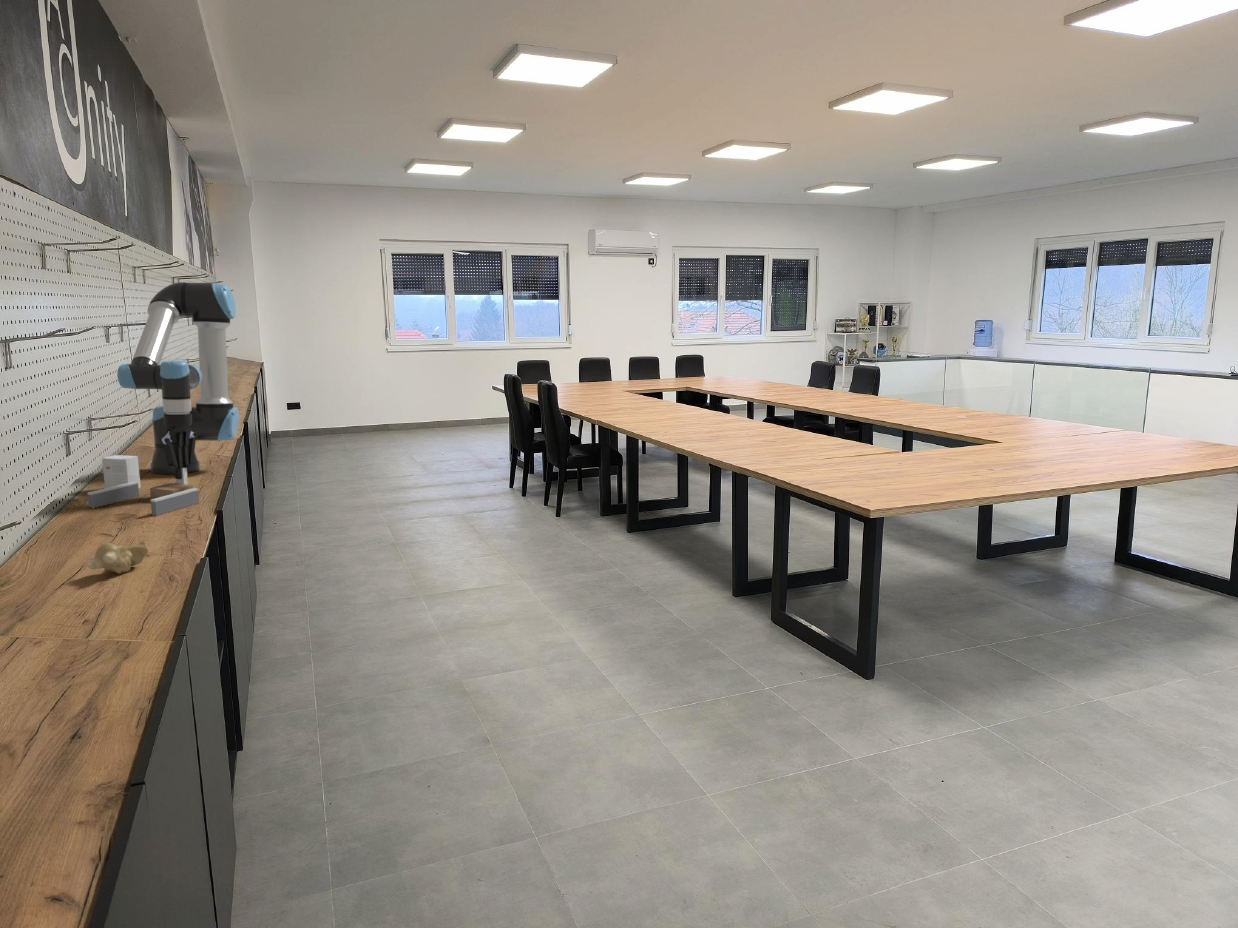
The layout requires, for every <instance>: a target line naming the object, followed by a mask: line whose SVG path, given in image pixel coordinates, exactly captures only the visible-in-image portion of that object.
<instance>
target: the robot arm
mask: <svg viewBox="0 0 1238 928" xmlns="http://www.w3.org/2000/svg"><path fill="white" fill-rule="evenodd" d="M236 313H237V311H236V302H235V298H234V295H233V292H232V290H231V289H230V287H229V286H228V285H226V284H221V283H216V282H215V283H214V282H212V283H207V282H205V283H203V282H201V283H200V282H185V281H181V282H174V283H172V284H169V285H167V286H165V287H164V288H162V289H160V291H158V292H157V293H156V294H155V295H154V296H153V298H152V299H151V300H150V302H149V303H148V306H147V315H148V317H147V320H146V323H145V325H144V328H143V330H142V332H141V336H140V338H139V339H138V344H137V346H136V349H135V352H134V354H133V356H132V359H131V362H130V363H122V364H121V365H119V366H118V369H117V373H116V374H117V375H116V376H117V381H118V383H119V385H120V387H121V388H123V389H132V390H133V389H134V390H161V394H162V395H161V396H162V397H161V398H162V405H159V406H156V407H154V408H153V410H152V421H151V422H152V427H153V428H152V429H153V439H154V441H153V442H154V452H153V455H152V460H151V463H150V465H149V466H150V467H149V468H150V472H151V473H153V474H158V475H174V478H175V479H176V482H175V483H177V484H187V485H189V484H188V483H189V482H188V478H189V473H193V472H196V471H199V470H200V468H201V467H200V466H201V465H200V461H199V460H198V458H197V454H196V452H195V450H196V442H199V441H200V442H201V441H203V442H204V441H205V442H206V441H209V442H210V441H213V442H216V441H217V442H221V441H231V440H234V439H235V437H236V435H237V433H238V429H239V424H240V411H239V408H238V407H236V406H235V407H234V402H233V401H232V400H231V399H230V397H229V391H228V390H229V386H228V385H229V383H228V360H227V359H228V358H227V332H226V330H227V328H228V327H229V326H230V325H231V320H234V319H235V318H236V316H237V315H236ZM183 317H184V318H185V317H186V318H192V324H194V325H195V326H196V327H197V336H198V337H197V338H198V339H197V340H198V360H199V361H198V363H199V366H198V367H199V368H198V367H197V366H195V365H193V364H189V363H188V361H185V360H184V361H183V360H164V361H163V360H162V359H163V357H164V353H165V351H166V347H167V345H168V342H169V339H170V336H171V334H172V330H173V327H174V324H176V323H178V322H179V320H180V318H183ZM198 386H200V387H199V388H200V391H199V392H200V398H199V399H198V400H197V401H196V402H195V407H194V406H193V407H192V398H191V390H193V389H196V388H197V387H198Z"/></svg>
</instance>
